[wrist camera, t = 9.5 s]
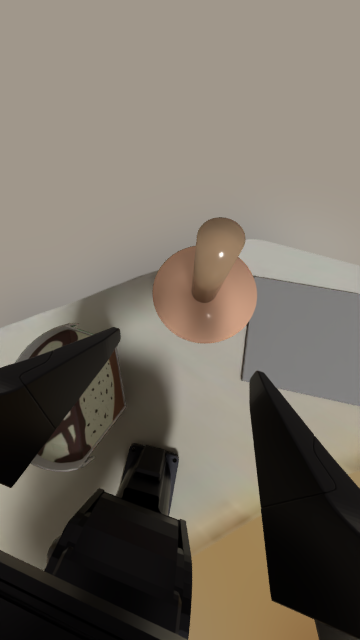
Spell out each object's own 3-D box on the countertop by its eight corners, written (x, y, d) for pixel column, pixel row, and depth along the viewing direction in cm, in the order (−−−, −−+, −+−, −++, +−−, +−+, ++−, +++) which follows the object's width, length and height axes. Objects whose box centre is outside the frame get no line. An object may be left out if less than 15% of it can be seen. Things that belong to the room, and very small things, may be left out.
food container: (74, 342, 23) (-6, 336, 13) (113, 332, 23) (62, 319, 14) (84, 430, 21) (-6, 501, 11) (128, 418, 21) (78, 477, 11)
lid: (272, 319, 19) (366, 285, 9) (175, 360, 18) (165, 369, 8) (226, 237, 21) (261, 141, 12) (141, 270, 21) (102, 198, 11)
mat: (361, 406, 20) (365, 407, 20) (241, 380, 21) (242, 380, 21) (358, 295, 23) (361, 294, 23) (253, 277, 24) (254, 276, 24)
